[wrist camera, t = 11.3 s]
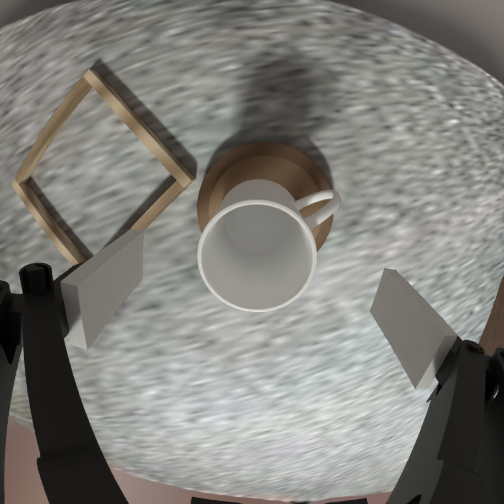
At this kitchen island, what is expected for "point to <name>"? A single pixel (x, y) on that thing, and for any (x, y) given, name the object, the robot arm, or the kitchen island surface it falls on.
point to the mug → (261, 245)
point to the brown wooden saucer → (268, 168)
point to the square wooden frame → (138, 129)
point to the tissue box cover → (494, 325)
